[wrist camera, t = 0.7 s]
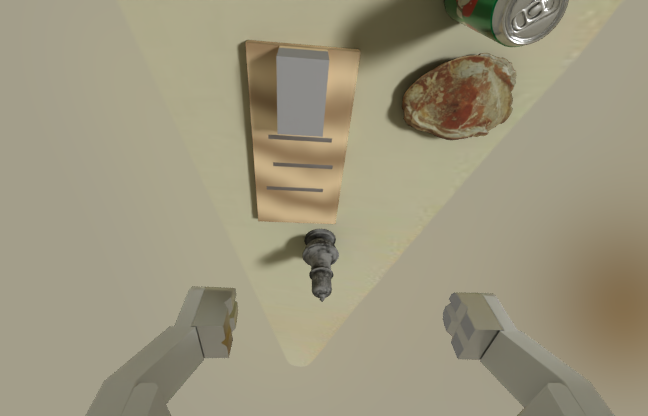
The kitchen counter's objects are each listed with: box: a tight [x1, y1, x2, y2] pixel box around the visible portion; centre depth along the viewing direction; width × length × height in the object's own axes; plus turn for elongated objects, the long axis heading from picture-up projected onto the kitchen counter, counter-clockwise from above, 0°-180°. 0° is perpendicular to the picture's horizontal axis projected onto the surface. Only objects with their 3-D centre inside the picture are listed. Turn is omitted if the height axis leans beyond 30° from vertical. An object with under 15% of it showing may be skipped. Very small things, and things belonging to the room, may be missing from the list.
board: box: [245, 40, 361, 224], centre depth 41 cm, size 25×12×1 cm, turn 175°
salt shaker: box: [303, 229, 339, 302], centre depth 48 cm, size 6×6×12 cm
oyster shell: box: [402, 53, 516, 140], centre depth 36 cm, size 13×10×3 cm
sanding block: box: [276, 46, 329, 137], centre depth 33 cm, size 8×5×4 cm, turn 175°
